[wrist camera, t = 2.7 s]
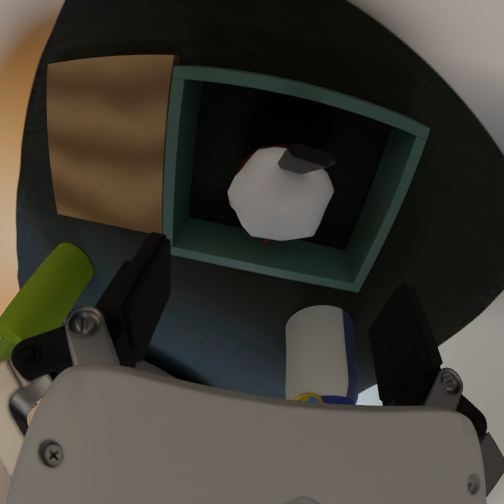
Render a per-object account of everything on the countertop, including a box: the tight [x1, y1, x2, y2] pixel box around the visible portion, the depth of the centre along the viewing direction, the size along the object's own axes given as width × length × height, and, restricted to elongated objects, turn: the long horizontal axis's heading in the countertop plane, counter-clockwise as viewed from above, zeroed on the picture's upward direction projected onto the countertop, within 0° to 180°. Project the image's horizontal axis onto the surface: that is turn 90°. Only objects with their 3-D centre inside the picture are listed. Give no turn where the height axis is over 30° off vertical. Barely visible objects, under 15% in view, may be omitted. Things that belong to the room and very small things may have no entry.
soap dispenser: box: [0, 243, 93, 361], centre depth 22 cm, size 6×7×20 cm
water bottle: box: [286, 305, 358, 405], centre depth 22 cm, size 8×9×25 cm
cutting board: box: [47, 55, 181, 234], centre depth 20 cm, size 15×12×2 cm
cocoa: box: [228, 143, 336, 245], centre depth 17 cm, size 10×6×12 cm, turn 146°
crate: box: [163, 65, 430, 292], centre depth 20 cm, size 14×16×4 cm
